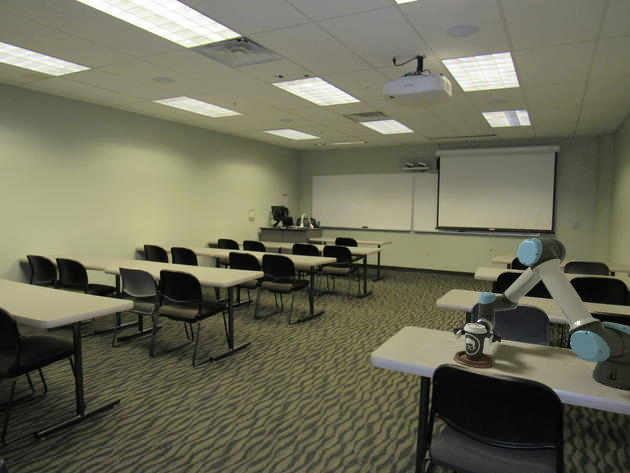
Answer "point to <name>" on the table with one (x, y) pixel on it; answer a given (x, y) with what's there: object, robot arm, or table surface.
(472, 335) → the coffee cup
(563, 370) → the table surface
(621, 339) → the robot arm
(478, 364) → the coaster
